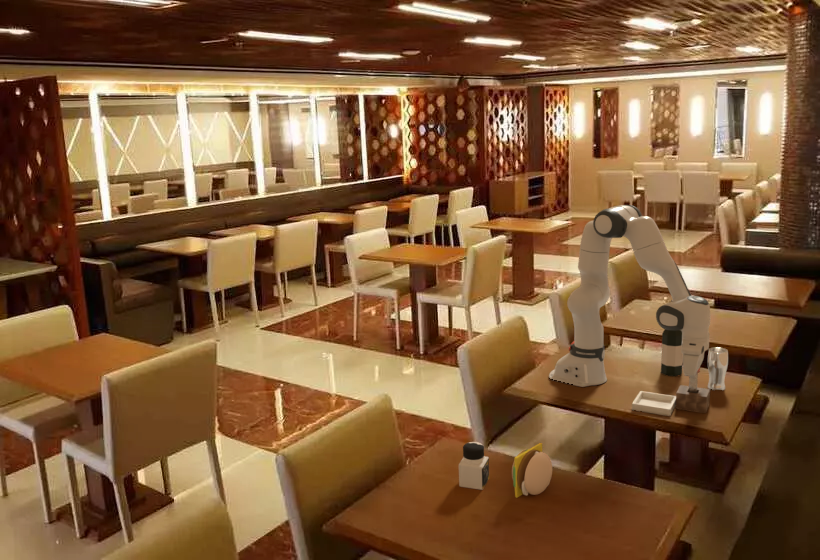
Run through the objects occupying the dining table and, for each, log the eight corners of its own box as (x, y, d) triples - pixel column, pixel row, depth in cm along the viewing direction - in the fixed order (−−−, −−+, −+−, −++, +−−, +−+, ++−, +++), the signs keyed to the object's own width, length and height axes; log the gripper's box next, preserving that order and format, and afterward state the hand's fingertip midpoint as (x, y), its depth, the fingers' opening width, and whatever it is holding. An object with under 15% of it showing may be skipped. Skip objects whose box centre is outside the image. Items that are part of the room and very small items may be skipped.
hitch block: (675, 408, 252) (676, 392, 250) (679, 400, 258) (680, 385, 257) (705, 413, 247) (706, 397, 245) (709, 405, 253) (710, 389, 252)
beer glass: (722, 384, 272) (724, 347, 268) (729, 391, 265) (731, 353, 262) (703, 384, 272) (705, 347, 269) (709, 391, 266) (711, 353, 262)
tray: (631, 410, 252) (631, 403, 252) (640, 397, 263) (640, 390, 263) (670, 416, 246) (670, 409, 245) (677, 402, 257) (677, 396, 256)
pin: (685, 406, 252) (687, 368, 249) (687, 402, 255) (689, 365, 252) (697, 408, 250) (699, 370, 247) (699, 404, 253) (701, 366, 250)
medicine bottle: (482, 490, 203) (481, 451, 200) (459, 486, 205) (457, 448, 203) (489, 478, 209) (488, 441, 207) (466, 475, 212) (465, 438, 209)
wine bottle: (656, 372, 286) (658, 301, 280) (667, 367, 292) (670, 296, 285) (675, 378, 280) (678, 304, 274) (686, 372, 285) (689, 300, 279)
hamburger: (532, 504, 194) (532, 464, 192) (508, 494, 200) (507, 455, 198) (557, 487, 202) (558, 449, 200) (534, 478, 208) (533, 440, 206)
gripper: (690, 333, 258) (688, 369, 261) (680, 350, 241) (678, 388, 244) (709, 335, 255) (707, 371, 258) (700, 352, 237) (698, 391, 240)
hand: (693, 380), depth 250 cm, fingers closed on pin, 3 cm apart
